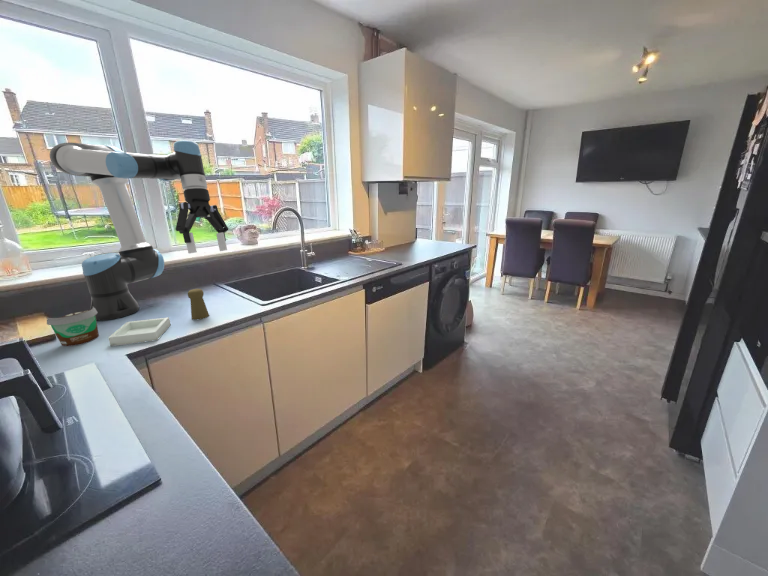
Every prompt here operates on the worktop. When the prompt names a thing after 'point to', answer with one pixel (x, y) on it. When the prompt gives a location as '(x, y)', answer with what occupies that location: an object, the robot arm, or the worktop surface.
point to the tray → (139, 331)
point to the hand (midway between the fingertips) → (209, 251)
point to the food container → (75, 327)
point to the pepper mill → (197, 304)
